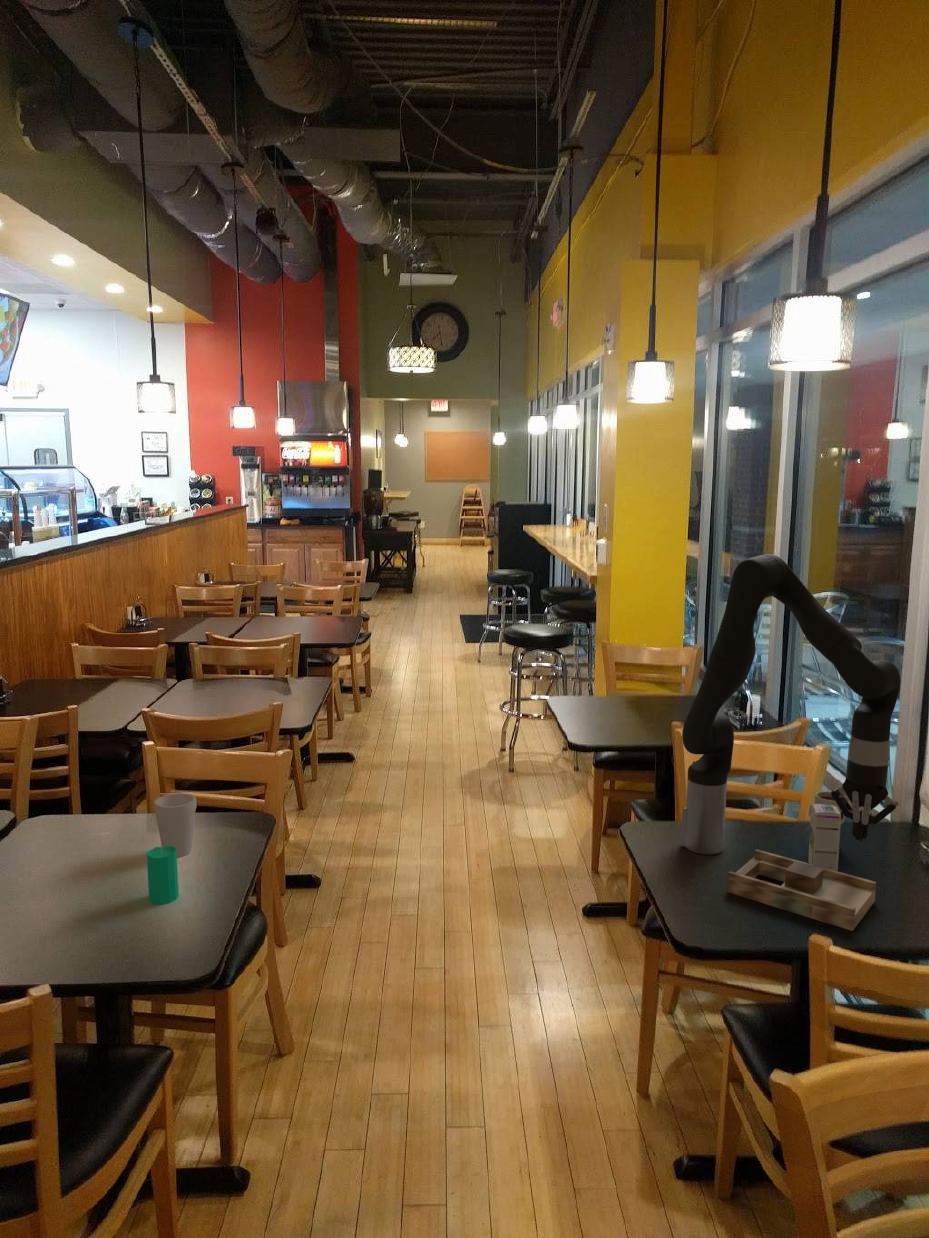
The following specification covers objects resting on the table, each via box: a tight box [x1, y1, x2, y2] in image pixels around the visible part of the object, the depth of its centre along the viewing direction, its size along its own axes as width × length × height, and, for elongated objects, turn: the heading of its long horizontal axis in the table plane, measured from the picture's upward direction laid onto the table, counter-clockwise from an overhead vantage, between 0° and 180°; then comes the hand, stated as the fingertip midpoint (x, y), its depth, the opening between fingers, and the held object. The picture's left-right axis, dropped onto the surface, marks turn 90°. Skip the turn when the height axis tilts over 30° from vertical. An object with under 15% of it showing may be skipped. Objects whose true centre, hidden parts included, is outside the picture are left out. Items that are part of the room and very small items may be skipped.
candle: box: [146, 843, 179, 905], centre depth 186 cm, size 6×6×12 cm
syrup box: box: [807, 803, 841, 872], centre depth 203 cm, size 6×6×14 cm
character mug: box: [808, 790, 851, 849], centre depth 215 cm, size 11×7×13 cm, turn 102°
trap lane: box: [726, 849, 877, 932], centre depth 190 cm, size 26×16×4 cm, turn 51°
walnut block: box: [785, 861, 824, 894], centre depth 189 cm, size 6×6×4 cm
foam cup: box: [153, 792, 197, 859], centre depth 209 cm, size 10×9×13 cm
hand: (860, 839), depth 181 cm, fingers closed
